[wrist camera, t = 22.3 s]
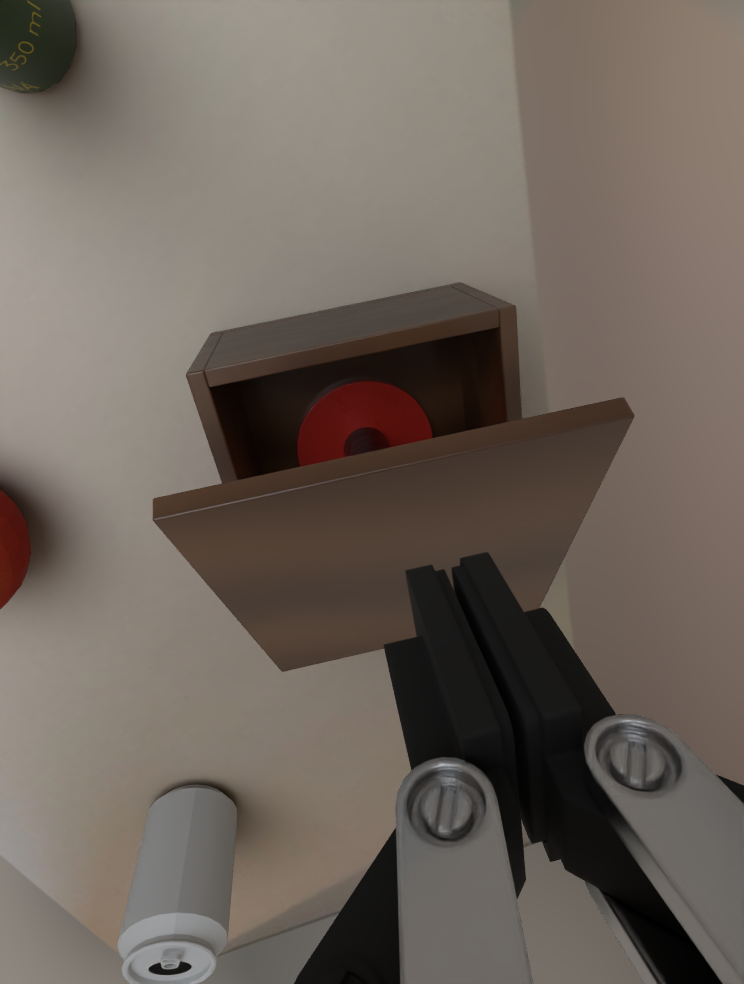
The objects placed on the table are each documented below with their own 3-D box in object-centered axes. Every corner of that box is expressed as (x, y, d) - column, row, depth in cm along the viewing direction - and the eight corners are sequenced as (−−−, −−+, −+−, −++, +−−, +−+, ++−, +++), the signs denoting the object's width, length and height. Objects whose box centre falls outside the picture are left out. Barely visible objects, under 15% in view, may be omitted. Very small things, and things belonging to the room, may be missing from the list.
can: (147, 834, 50) (110, 1003, 39) (150, 777, 47) (111, 944, 36) (234, 833, 51) (220, 996, 41) (242, 778, 48) (230, 939, 38)
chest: (210, 333, 32) (184, 373, 24) (461, 281, 32) (516, 305, 24) (282, 570, 39) (280, 659, 32) (483, 525, 40) (531, 601, 32)
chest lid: (152, 497, 17) (151, 520, 16) (624, 396, 17) (636, 415, 17) (280, 658, 31) (281, 672, 31) (532, 600, 32) (537, 613, 32)
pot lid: (373, 349, 32) (390, 376, 27) (456, 447, 36) (486, 489, 31) (268, 441, 34) (264, 485, 29) (357, 527, 38) (369, 580, 32)
